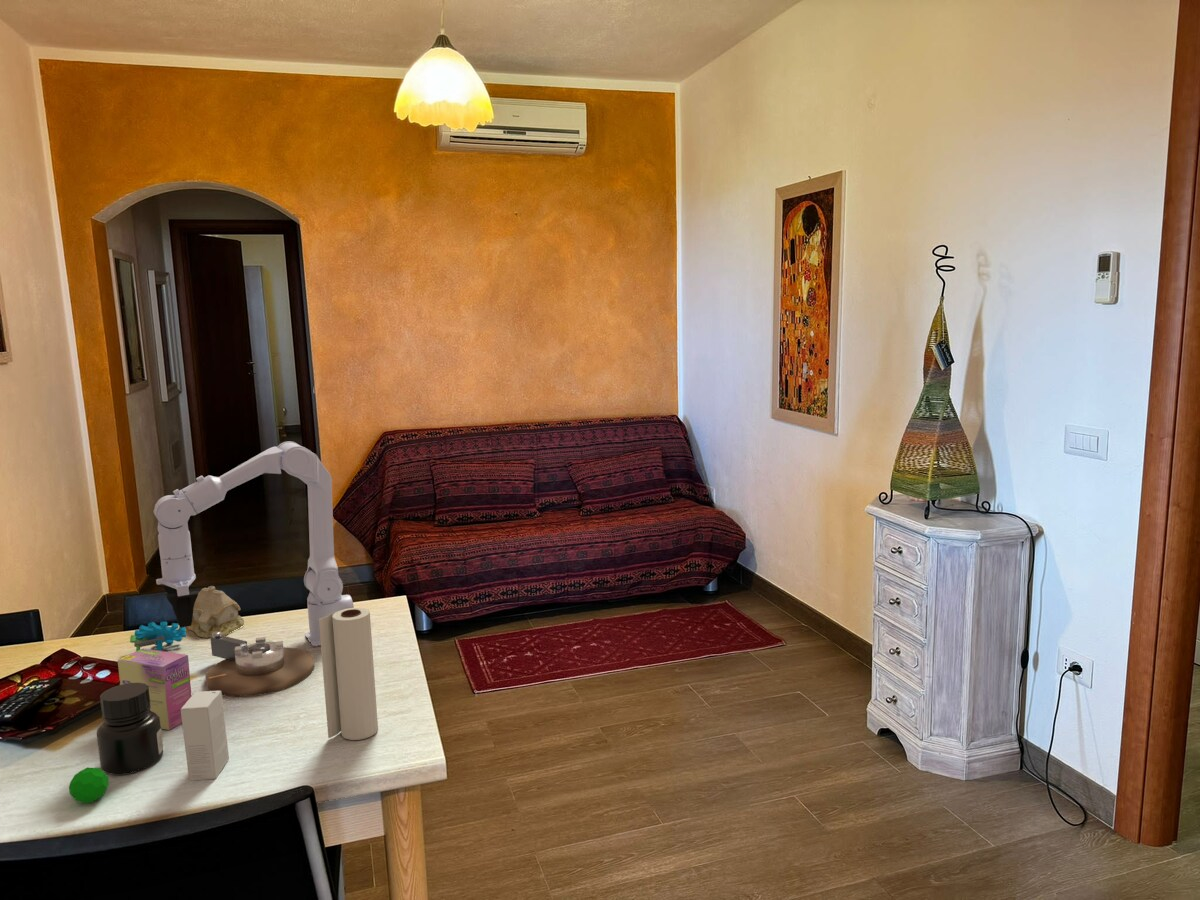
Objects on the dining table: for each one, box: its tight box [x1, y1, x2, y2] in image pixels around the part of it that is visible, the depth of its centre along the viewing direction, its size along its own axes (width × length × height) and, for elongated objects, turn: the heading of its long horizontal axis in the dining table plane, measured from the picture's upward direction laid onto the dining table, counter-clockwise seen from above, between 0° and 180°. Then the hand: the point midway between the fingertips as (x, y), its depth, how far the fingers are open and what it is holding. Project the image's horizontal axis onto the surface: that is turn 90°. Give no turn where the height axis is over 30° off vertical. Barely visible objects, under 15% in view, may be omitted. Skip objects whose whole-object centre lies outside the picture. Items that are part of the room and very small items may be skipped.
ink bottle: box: [96, 683, 164, 775], centre depth 136 cm, size 10×9×12 cm
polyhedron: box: [68, 766, 110, 804], centre depth 126 cm, size 5×5×5 cm
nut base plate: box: [205, 646, 315, 697], centre depth 169 cm, size 20×20×2 cm
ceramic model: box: [187, 585, 245, 638], centre depth 195 cm, size 14×11×10 cm
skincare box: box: [181, 690, 230, 782], centre depth 132 cm, size 6×4×12 cm
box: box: [117, 647, 193, 731], centre depth 150 cm, size 10×6×12 cm, turn 71°
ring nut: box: [209, 631, 285, 676], centre depth 171 cm, size 18×9×5 cm, turn 62°
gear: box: [129, 621, 187, 652], centre depth 181 cm, size 11×6×10 cm
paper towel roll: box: [319, 607, 379, 741], centre depth 143 cm, size 7×6×21 cm
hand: (183, 620), depth 172 cm, fingers open, 7 cm apart
